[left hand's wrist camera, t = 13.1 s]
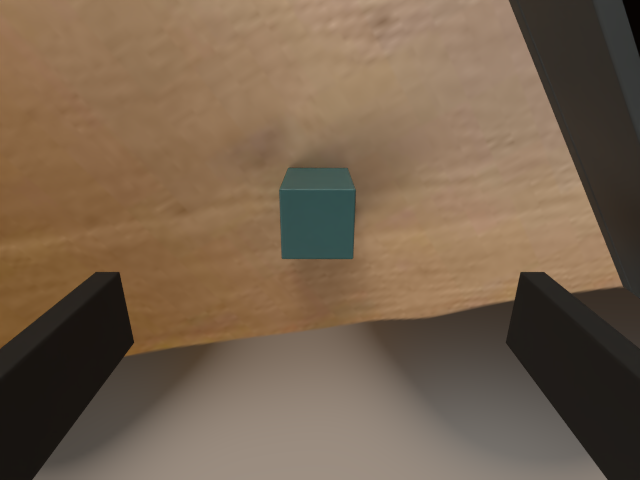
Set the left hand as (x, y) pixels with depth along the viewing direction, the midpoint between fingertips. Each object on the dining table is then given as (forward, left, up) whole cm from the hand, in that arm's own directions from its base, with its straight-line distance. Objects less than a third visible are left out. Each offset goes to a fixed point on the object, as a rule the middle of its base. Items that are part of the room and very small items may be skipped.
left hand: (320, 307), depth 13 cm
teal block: (0, 0, -14) cm, 14 cm away
